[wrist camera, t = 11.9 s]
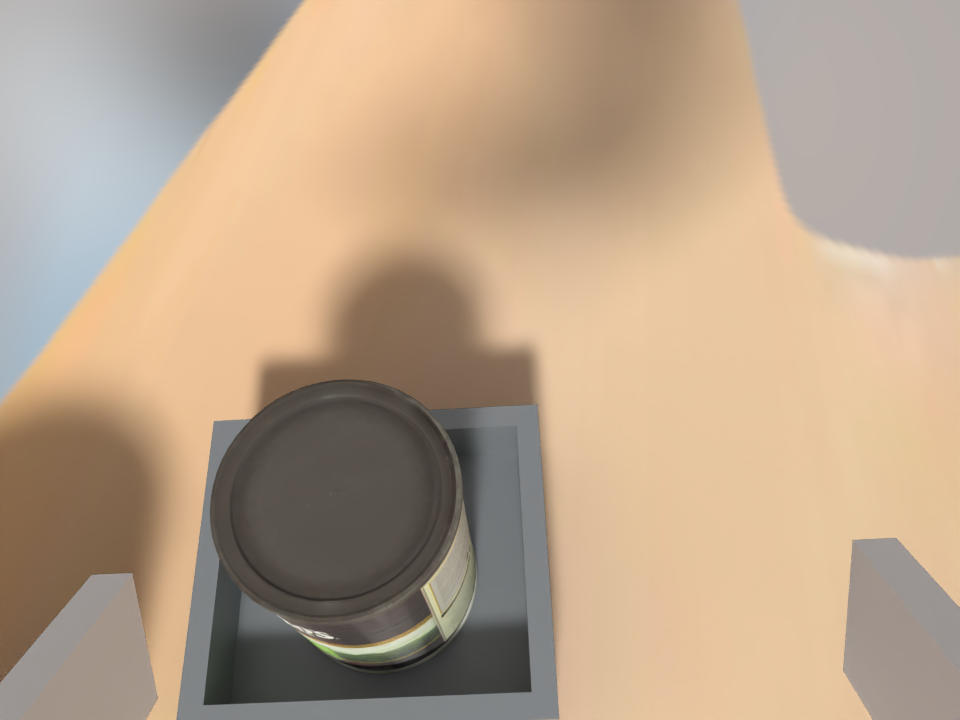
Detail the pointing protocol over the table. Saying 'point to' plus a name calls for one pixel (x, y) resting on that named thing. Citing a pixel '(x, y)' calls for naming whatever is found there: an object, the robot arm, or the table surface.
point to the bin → (442, 679)
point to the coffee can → (349, 523)
